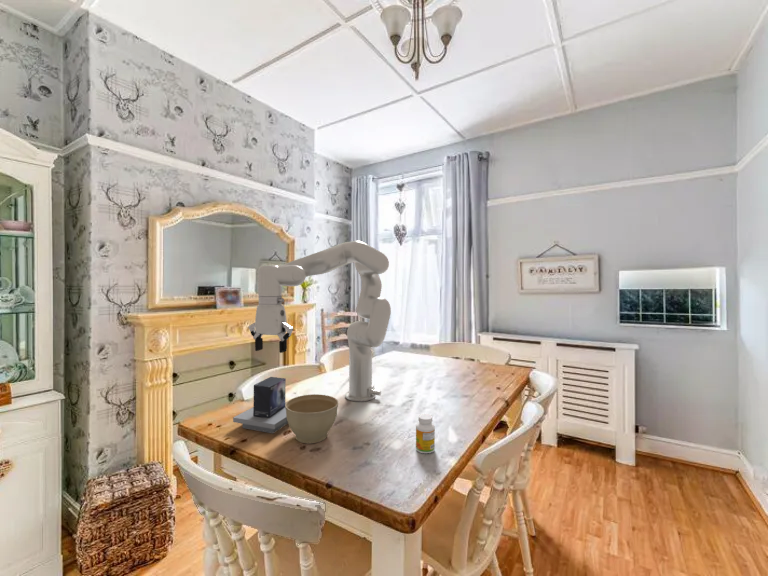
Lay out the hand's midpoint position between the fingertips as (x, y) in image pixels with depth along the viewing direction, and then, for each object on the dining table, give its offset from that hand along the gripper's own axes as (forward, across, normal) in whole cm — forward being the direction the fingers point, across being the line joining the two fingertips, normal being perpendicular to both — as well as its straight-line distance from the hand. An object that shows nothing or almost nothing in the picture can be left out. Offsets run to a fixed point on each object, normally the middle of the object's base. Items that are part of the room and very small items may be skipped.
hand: (270, 351), depth 118 cm
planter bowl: (+25, -19, +6) cm, 32 cm away
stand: (+24, 0, +2) cm, 25 cm away
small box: (+21, 0, +2) cm, 21 cm away
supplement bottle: (+25, -54, +2) cm, 60 cm away
